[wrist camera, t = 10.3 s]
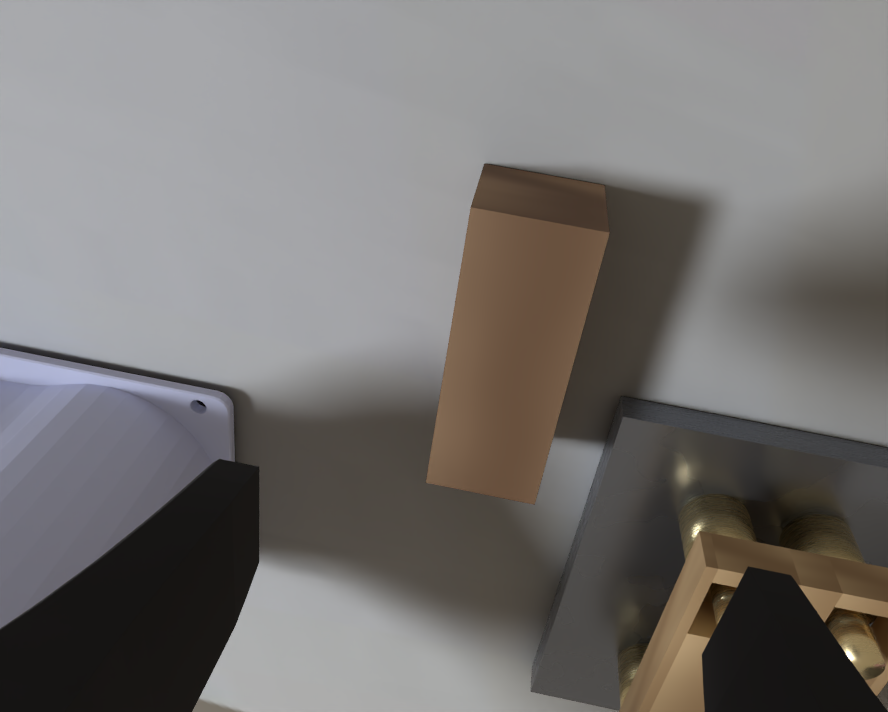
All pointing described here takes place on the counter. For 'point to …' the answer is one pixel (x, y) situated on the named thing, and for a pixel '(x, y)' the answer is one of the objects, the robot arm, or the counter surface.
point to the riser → (515, 329)
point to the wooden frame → (724, 562)
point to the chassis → (709, 510)
